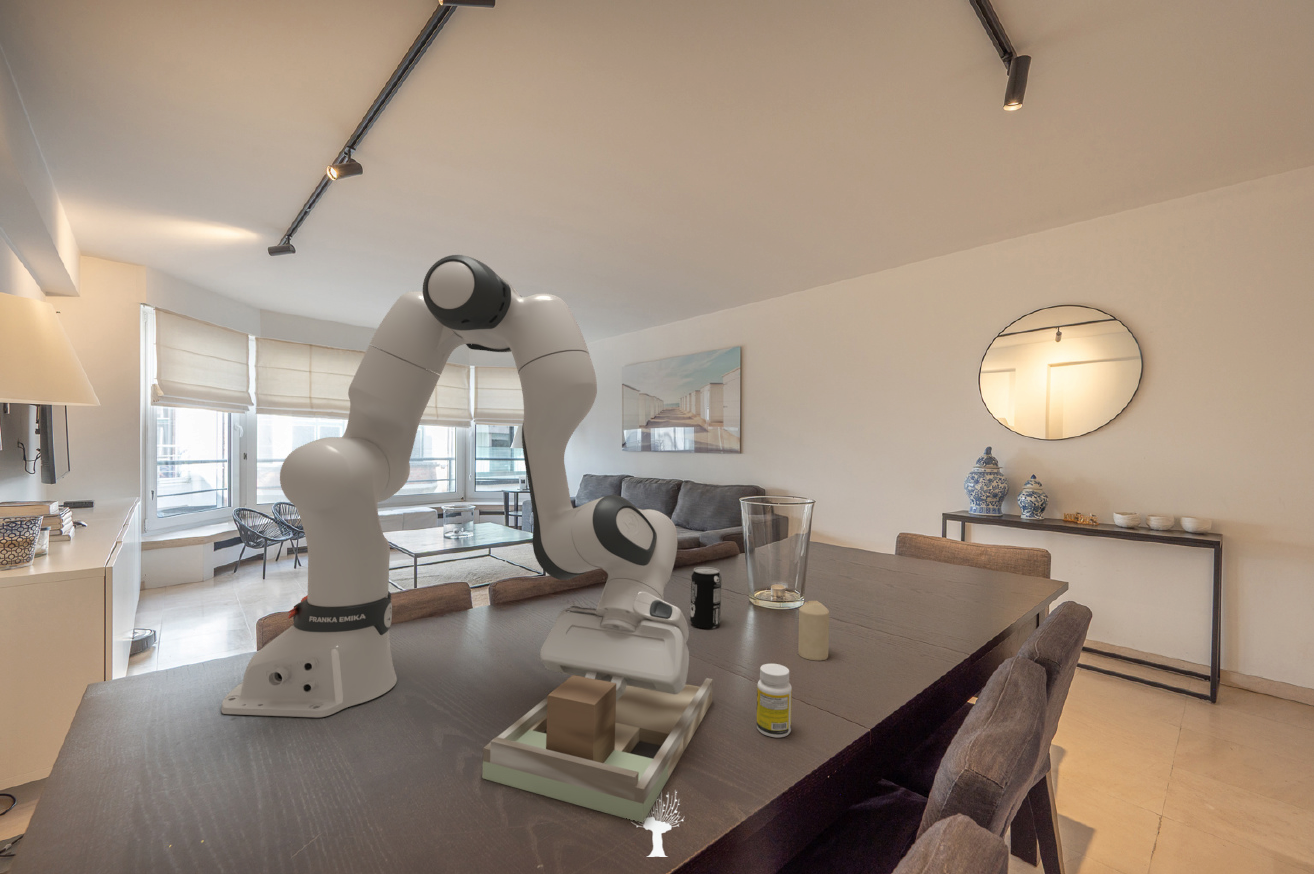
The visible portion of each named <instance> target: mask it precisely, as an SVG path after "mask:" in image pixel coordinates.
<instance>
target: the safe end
mask: <svg viewBox="0 0 1314 874" xmlns="http://www.w3.org/2000/svg"><path fill="white" fill-rule="evenodd" d="M515 742H519V743H523V744H527V745H531V746H535V747H539V748H543V749H546V734H545V733H541V732H537V731H533V730H528V731H527V732H526V733H524V734H523V735H522V736H521V737H520V738H519V739H517V740H516V741H515ZM652 760H653V759H651V758H647V757H643V756H639V755H634V754H630V753H626V752H622V751H617V750H614V751H613V752H612V753H611V754H610V756H609V757H608V758H607V759H606V761H605V762H604V764H608V765H612V766H616V767H620V768H624V769H628V770H632V771H636V772H639V777H638V781H639V780H640V778H641V777H642V775H643V774H644V772H645V771H646V769H647V768H648V766H649V765H650V763H651V762H652ZM481 773H482V777H481V778H482V779H484V780H487V781H490V782H495V783H497V784H502V785H505V786H508V787H512V788H516V789H520V790H523V791H527V792H530V793H533V794H537V795H540V796H544V797H547V798H551V799H554V800H555V799H556V800H557V801H561V802H566V803H570V804H573V805H577V806H580V807H583V808H587V809H590V810H594V811H597V812H598V811H599V812H600V813H601V812H602V813H605V814H608V815H612V816H615V817H620V818H622V819H626V818H627V820H629V819H630V820H629V821H633V820H635V821H634V822H637V821H640V822H643V821H644V822H645V820H646V819H647V816H648V815H649V813H650V811H651V810H652V808H653V806H654V805H655V802H656V801H657V800H658V797H659V795H660V794H661V792H662V791H663V788H664V787H665V785H666V783H667V782H668V780H669V778H668V764H667V765H666V767H665V769H664V770H663V772H662V774H661V775H660V777H659V779H658V780H657V782H656V784H655V785H654V787H653V789H652V790H651V792H650V794H649V795H648V797H647V799H646V800H645V802H644V804H642V803H638V802H635V801H631V800H627V799H623V798H620V797H616V796H612V795H608V794H605V793H601V792H597V791H593V790H590V789H586V788H582V787H578V786H575V785H571V784H567V783H563V782H560V781H556V780H552V779H548V778H545V777H541V776H537V775H534V774H530V773H526V772H522V771H519V770H515V769H511V768H507V767H504V766H500V765H496V764H492V763H489V762H485V761H483V760H482V772H481ZM645 818H646V819H645ZM644 819H645V820H644ZM640 822H639V823H640ZM644 822H643V823H644Z"/></svg>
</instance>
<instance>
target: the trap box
mask: <svg viewBox="0 0 1314 874" xmlns="http://www.w3.org/2000/svg"><path fill="white" fill-rule="evenodd" d="M580 677H581V676H580ZM601 681H602V680H601ZM713 681H714V680H713V678H708V677H706V678H705V679H704V681H703V682H702V684H701V685H700V686H697V685H693V684H687V683H686V684H685V687H684V689H683V690H682V691H681V692H679V693H678V694H670V693H665V692H660V691H655V690H649V689H644V688H639V687H633V686H628V685H627V686H626V689H625V692H624V694H623V695H622V696H621V697H620V698H619V699H618V700H617V701H616V718H615V750H617V751H622V752H626V753H630V754H634V755H639V756H643V757H647V758H651V759H653V760H652V762H651V763H650V765H649V766H648V768H647V769H646V771H645V772H644V774H643V775H642V777H641V778H640V780H639V781H638V777H639V772H636V771H632V770H628V769H624V768H620V767H616V766H612V765H608V764H604V763H600V762H596V761H592V760H588V759H584V758H580V757H576V756H572V755H568V754H564V753H559V752H555V751H551V750H547V749H543V748H539V747H535V746H531V745H527V744H523V743H519V742H515V741H516V740H517V739H519V738H520V737H521V736H522V735H523V734H524V733H526V732H527V731H528V730H533V731H537V732H541V733H545V734H546V732H547V697H548V695H547V696H546V697H545V698H543V700H541V701H540V702H539V703H537V704H536V705H535V706H533V707H532V709H531V708H530V709H529V711H528V712H526V713H525V714H523V716H521V717H520V718H519V719H517V720H516V721H515V722H514V723H513V724H511V725H510V726H509V727H507V728H506V729H505V730H504V731H503V732H501V733H500V734H499V735H497V736H495V737H494V738H493V739H492V740H490V742H489V743H488V744H486V745H484V747H483V748H482V762H483V761H485V762H489V763H492V764H496V765H500V766H504V767H507V768H511V769H515V770H519V771H522V772H526V773H530V774H534V775H537V776H541V777H545V778H548V779H552V780H556V781H560V782H563V783H567V784H571V785H575V786H578V787H582V788H586V789H590V790H593V791H597V792H601V793H605V794H608V795H612V796H616V797H620V798H623V799H627V800H631V801H635V802H638V803H642V804H644V802H645V800H646V799H647V797H648V795H649V794H650V792H651V790H652V789H653V787H654V785H655V784H656V782H657V780H658V779H659V777H660V775H661V774H662V772H663V770H664V769H665V767H666V765H667V764H668V779H669V778H670V777H671V775H672V774H673V771H674V769H675V768H676V766H677V764H678V763H679V761H680V759H681V757H682V755H683V754H684V752H685V750H686V749H687V747H688V746H689V743H690V741H691V739H692V738H693V736H694V735H695V733H696V731H697V729H698V728H699V725H701V722H702V721H703V719H704V717H705V716H706V713H707V712H708V710H709V709H710V707H711V705H712V703H713V684H714V682H713Z"/></svg>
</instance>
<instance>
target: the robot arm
mask: <svg viewBox="0 0 1314 874" xmlns="http://www.w3.org/2000/svg"><path fill="white" fill-rule="evenodd" d="M423 279H424V280H423V282H422V283H423V284H422V291H421V290H418V291H417V290H416V291H415V290H414V291H413V290H412V291H408V292H407V291H406V292H405V293H403V294H401V295H400V296H399V298H397V300H396V301H395V302H394V304H392V306H391V307H390V308H389V310H388V312H387V313H386V315H385V316H384V318H383V319H382V320H381V322H380V324H379V325H378V327H377V329H376V331H375V333H374V335H373V337H372V338H371V340H370V342H369V345H368V346H367V349H366V351H365V353H364V355H363V357H362V359H361V361H360V364H359V366H358V368H357V369H356V372H355V374H354V377H353V378H352V380H351V383H350V385H349V387H348V394H347V395H348V399H349V407H350V408H349V415H348V419H347V423H346V429H345V432H344V433H343V435H342V437H340V436H339V437H338V436H330V437H329V436H328V437H327V436H326V437H322V438H319V439H316V440H313V441H310V442H307V443H305V444H303V445H301V446H298V447H296V448H295V449H294V450H292V451H291V452H290V453H289V454H288V455H287V457H285V459H284V461H283V463H282V465H281V468H280V472H279V483H280V488H281V490H282V493H283V494H284V496H285V498H287V500H288V501H289V502H290V503H291V504H292V505H293V506H294V508H296V510H297V512H298V515H299V517H300V518H299V519H300V522H301V525H302V528H303V532H304V536H305V541H306V548H307V558H308V559H307V595H306V596H304V597H302V598H301V600H300V602H298V603H297V604H295V605H294V606H293V608H292V609H290V610H289V611H288V613H289V614H288V616H287V617H288V619H289V620H290V619H292V618H293V619H292V621H293V623H292V625H291V626H290V627H289V628H287V629H286V630H284V631H283V632H282V633H280V634H279V635H277V636H276V637H275V638H274V639H272V640H271V641H269V642H268V643H267V644H266V645H264V646H263V647H261V648H260V650H258V651H257V652H256V653H255V654H254V655H253V656H252V657H251V659H250V660H249V662H248V664H247V666H246V668H245V671H244V672H245V673H244V675H243V679H242V682H241V683H239V684H238V685H237V686H235V687H234V688H233V689H231V690H230V691H229V692H228V693H227V694H226V696H225V697H224V698H223V700H222V703H221V707H220V709H221V711H220V712H221V713H222V714H225V715H239V716H240V715H242V716H243V715H245V716H246V715H247V716H267V717H268V716H269V717H270V716H273V717H295V718H296V717H299V718H324V717H328V716H331V715H333V714H336V713H338V712H340V711H342V710H344V709H347V708H348V707H352V706H356V705H359V704H364V703H367V702H368V701H372V700H373V699H376V698H378V697H380V696H382V695H384V694H386V693H388V692H389V691H390V690H392V688H394V687H395V685H396V684H397V682H398V676H397V673H396V671H395V668H394V663H393V659H392V657H393V656H392V652H391V651H392V649H391V643H390V631H389V630H391V629H390V628H391V625H392V618H393V617H392V616H393V615H392V614H393V604H392V594H391V592H390V591H389V589H390V588H389V585H390V583H389V582H390V554H391V550H390V549H391V547H390V543H389V541H388V539H387V538H386V537H385V535H384V532H383V528H382V526H381V521H380V515H379V511H378V503H381V502H384V501H386V500H389V499H390V498H392V497H394V496H395V494H397V493H398V492H399V491H400V490H401V489H402V488H403V487H404V486H405V484H406V483H407V481H408V479H409V477H410V474H411V465H410V460H411V457H412V453H413V449H414V446H415V441H416V436H417V433H418V430H419V425H420V423H421V420H422V417H423V415H424V412H425V410H426V408H427V405H428V403H429V401H430V399H431V398H432V395H433V392H434V391H435V388H436V386H437V383H438V381H439V380H440V377H441V375H442V374H443V370H444V368H445V366H446V364H447V362H448V359H450V358H449V357H450V356H451V354H452V353H453V352H454V351H455V349H457V348H458V347H460V346H463V345H466V347H468V349H470V350H474V351H486V352H493V353H510V352H511V353H512V356H513V358H514V359H513V360H514V362H515V367H516V371H517V374H518V377H519V381H520V386H521V393H522V400H523V401H522V402H523V403H522V404H523V422H522V428H521V445H522V454H523V459H524V466H525V471H526V477H527V483H528V490H529V496H530V502H531V509H532V518H533V519H532V520H533V528H532V529H533V530H532V549H533V554H534V557H535V560H536V561H537V563H538V565H539V567H540V568H541V569H542V570H543V571H544V572H545V573H546V574H547V575H549V576H550V577H552V578H554V579H557V580H561V581H568V580H572V579H574V578H576V577H577V578H578V577H579V576H582V575H584V574H586V573H588V572H591V571H595V570H598V569H602V570H603V571H605V572H606V574H607V579H606V581H605V582H606V583H605V585H604V588H603V590H602V592H601V596H600V598H599V601H598V603H597V606H596V608H594V607H582V606H579V605H571V606H570V607H567V608H564V609H562V610H561V611H560V612H559V613H558V614H557V617H556V619H555V622H554V624H553V627H552V628H551V630H550V631H549V633H548V635H547V637H546V639H545V640H544V643H543V644H542V646H541V649H540V651H539V657H540V658H539V659H540V661H541V663H542V664H543V665H544V667H545V668H546V669H547V670H548V671H551V672H555V673H561V674H566V675H571V676H572V675H575V676H581V677H586V678H591V679H596V680H602V681H607V682H612V683H616V701H617V700H618V699H619V698H620V697H621V696H622V695H623V694H624V692H625V689H626V686H627V685H628V686H633V687H639V688H644V689H649V690H655V691H660V692H665V693H670V694H678V693H679V692H681V691H682V690H683V689H684V687H685V684H687V679H688V673H689V663H690V652H689V648H688V644H687V641H688V639H689V635H690V632H689V630H690V629H689V625H688V622H687V620H686V617H685V616H684V614H683V612H682V610H681V609H680V607H678V606H676V605H673V604H671V603H670V602H667V601H665V599H664V597H665V596H664V595H665V594H664V591H665V588H666V586H667V585H668V583H669V581H670V580H671V577H672V573H673V569H674V567H675V566H674V565H675V563H676V558H677V553H678V552H677V550H678V530H677V527H676V526H675V523H674V522H673V521H672V519H670V517H669V516H668V515H666V514H664V513H662V512H661V511H658V510H656V509H650V508H648V509H641V508H638V507H636V505H634V504H633V503H632V502H631V501H630V500H628V499H627V498H625V497H623V496H620V495H616V494H610V495H609V494H608V495H606V496H602V497H600V498H596V499H593V500H591V501H589V502H586V503H584V504H582V505H580V506H579V505H578V506H577V507H574V506H573V504H572V501H571V495H570V489H569V483H568V477H567V471H566V465H565V453H566V449H567V447H568V443H569V441H570V439H571V437H572V435H573V434H574V432H575V431H576V429H577V428H578V426H579V425H580V424H581V423H582V422H583V420H584V419H585V418H586V417H587V415H588V414H589V412H590V411H591V409H592V408H593V406H594V404H595V400H596V397H597V393H598V386H597V385H598V384H597V376H596V372H595V369H594V364H593V361H592V358H591V355H590V353H589V349H588V346H587V343H586V340H585V338H584V336H583V333H582V331H581V329H580V326H579V324H578V322H577V319H576V318H575V316H574V314H573V313H572V311H571V308H570V307H569V305H568V304H567V303H566V302H565V300H563V299H562V298H561V297H560V296H557V295H554V294H551V293H535V294H532V295H529V296H522V295H520V293H518V291H517V290H516V289H515V288H514V286H513V285H512V284H510V282H509V281H507V280H506V279H505V278H504V277H502V276H500V275H498V274H497V273H496V272H495V271H494V270H493V269H492V268H491V267H490V266H488V265H487V264H485V263H484V262H481V260H478V259H476V258H474V257H471V256H467V255H463V254H451V255H448V256H444V257H442V258H440V259H438V260H437V261H436V262H435V263H433V265H431V267H430V268H429V269H428V270H427V272H426V274H425V276H424V278H423Z"/></svg>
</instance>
